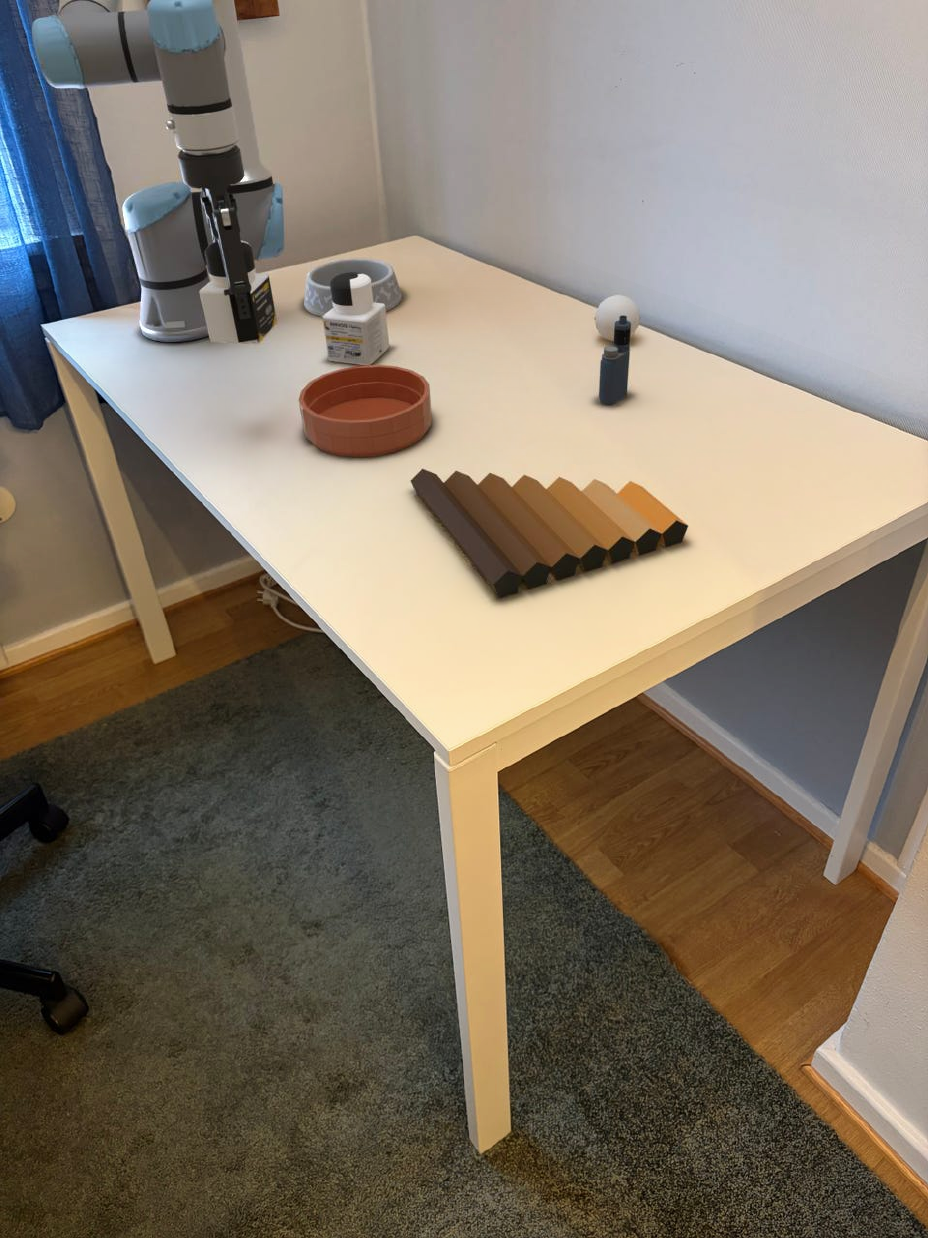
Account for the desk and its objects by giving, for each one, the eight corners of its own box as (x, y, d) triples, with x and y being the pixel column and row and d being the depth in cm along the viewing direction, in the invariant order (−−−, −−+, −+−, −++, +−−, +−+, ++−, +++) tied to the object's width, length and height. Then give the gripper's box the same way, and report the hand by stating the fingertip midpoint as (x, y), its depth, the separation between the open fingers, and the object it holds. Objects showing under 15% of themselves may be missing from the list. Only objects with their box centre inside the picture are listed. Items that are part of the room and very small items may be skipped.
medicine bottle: (259, 344, 127) (242, 253, 119) (209, 342, 128) (189, 252, 121) (278, 323, 132) (262, 235, 125) (230, 322, 134) (212, 233, 126)
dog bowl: (399, 315, 172) (396, 286, 168) (298, 320, 172) (293, 290, 169) (405, 282, 185) (402, 254, 182) (311, 286, 186) (307, 258, 182)
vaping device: (630, 394, 142) (636, 316, 135) (609, 407, 139) (613, 327, 132) (616, 390, 144) (621, 312, 136) (595, 402, 141) (598, 323, 133)
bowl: (294, 412, 143) (288, 378, 139) (411, 390, 147) (408, 356, 144) (319, 469, 129) (313, 432, 126) (448, 442, 133) (446, 406, 130)
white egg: (647, 343, 157) (650, 299, 152) (606, 351, 155) (609, 307, 150) (618, 322, 164) (620, 280, 160) (579, 330, 162) (580, 287, 158)
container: (327, 361, 157) (316, 282, 149) (349, 343, 163) (339, 266, 155) (369, 366, 155) (360, 286, 147) (390, 348, 160) (382, 270, 152)
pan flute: (411, 494, 123) (493, 600, 104) (409, 471, 121) (492, 574, 102) (582, 449, 130) (686, 540, 112) (582, 427, 128) (689, 516, 109)
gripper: (168, 132, 123) (206, 302, 137) (185, 172, 107) (226, 362, 121) (227, 125, 125) (258, 294, 139) (252, 164, 108) (284, 352, 122)
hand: (243, 326), depth 130 cm, fingers closed on medicine bottle, 9 cm apart
